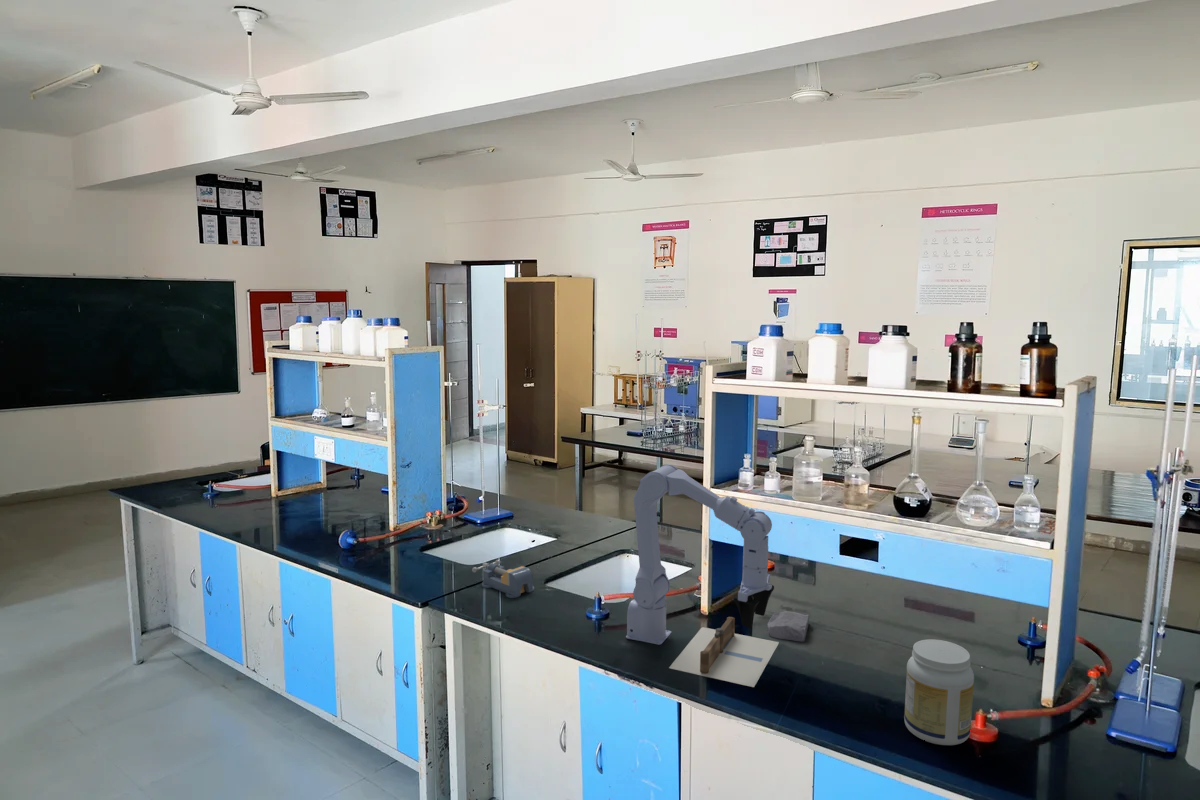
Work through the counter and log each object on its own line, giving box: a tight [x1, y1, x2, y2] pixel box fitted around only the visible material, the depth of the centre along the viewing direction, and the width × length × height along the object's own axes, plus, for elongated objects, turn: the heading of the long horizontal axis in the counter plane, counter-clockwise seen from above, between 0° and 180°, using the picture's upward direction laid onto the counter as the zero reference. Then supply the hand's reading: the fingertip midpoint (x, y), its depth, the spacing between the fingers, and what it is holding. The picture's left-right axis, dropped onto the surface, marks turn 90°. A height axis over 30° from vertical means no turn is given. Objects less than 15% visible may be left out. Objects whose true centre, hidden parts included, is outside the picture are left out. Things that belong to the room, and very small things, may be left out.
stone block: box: [766, 610, 810, 642], centre depth 199 cm, size 12×5×10 cm
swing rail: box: [700, 627, 723, 673], centre depth 182 cm, size 13×2×5 cm, turn 154°
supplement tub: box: [903, 638, 975, 746], centre depth 154 cm, size 12×12×17 cm
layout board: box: [668, 627, 780, 688], centre depth 186 cm, size 20×24×1 cm
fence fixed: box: [719, 616, 736, 653], centre depth 192 cm, size 2×12×5 cm, turn 154°
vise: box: [471, 559, 535, 599], centre depth 229 cm, size 18×10×7 cm, turn 47°
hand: (753, 620), depth 183 cm, fingers open, 7 cm apart
